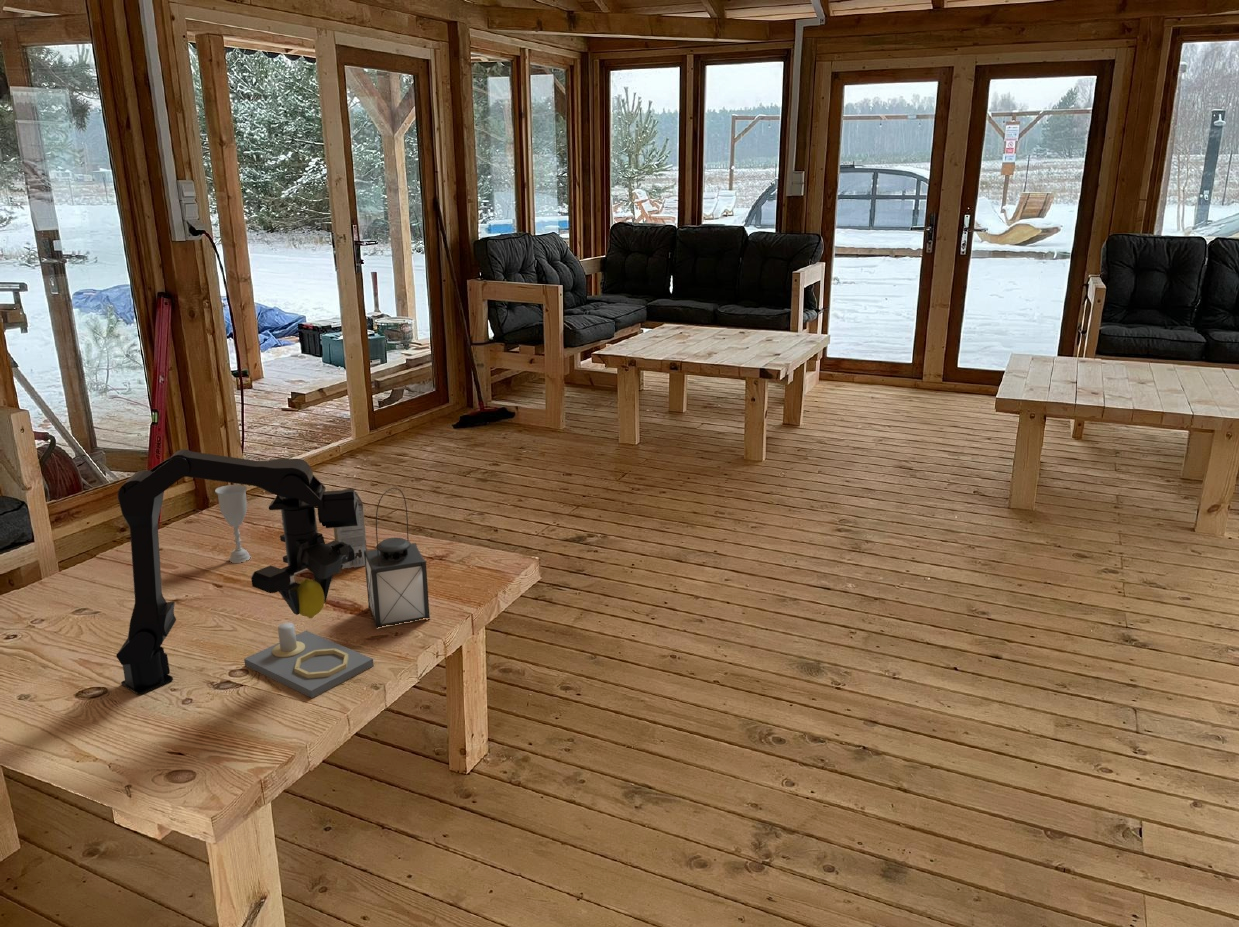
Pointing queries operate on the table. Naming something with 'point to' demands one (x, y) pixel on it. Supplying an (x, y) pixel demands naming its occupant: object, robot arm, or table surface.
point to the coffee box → (354, 538)
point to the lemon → (310, 598)
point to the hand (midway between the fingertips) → (309, 608)
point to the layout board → (307, 661)
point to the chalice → (234, 515)
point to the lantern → (396, 581)
